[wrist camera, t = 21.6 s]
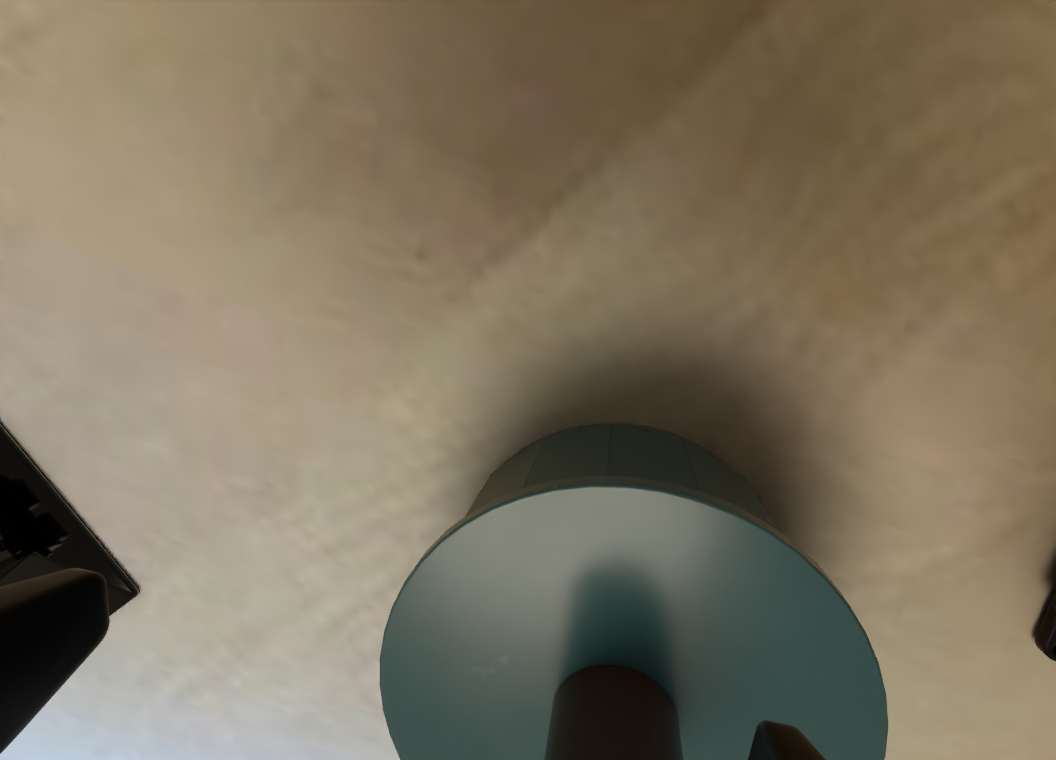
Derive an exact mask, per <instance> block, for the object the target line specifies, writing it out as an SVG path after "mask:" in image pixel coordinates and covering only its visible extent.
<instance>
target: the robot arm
mask: <svg viewBox="0 0 1056 760" xmlns="http://www.w3.org/2000/svg"><path fill="white" fill-rule="evenodd" d="M108 627H109V607H108V594H107V583H106V579H105V578H104V576H103V575H102V574H100V573H98V572H94V571H89V570H85V569H80V568H70V569H65V570H62V571H58V572H54V573H50V574H47V575H43V576H39V577H35V578H32V579H28V580H24V581H20V582H17V583H13V584H9V585H5V586H2V587H0V753H1V752H2V751H3V750H4V749H5V748H6V747H7V746H8V745H9V744H10V743H11V742H12V741H13V740H14V739H15V738H16V736H17V735H18V734H19V733H20V732H21V731H22V730H23V729H24V728H25V727H26V726H27V724H28V723H29V722H30V721H31V720H32V719H33V718H34V717H35V715H36V714H37V713H38V712H39V711H40V710H41V709H42V708H43V706H44V705H45V704H46V703H47V702H48V701H49V700H50V699H51V698H52V696H53V695H54V694H55V693H56V692H57V691H58V690H59V689H60V687H61V686H62V685H63V684H64V683H65V682H66V681H67V680H68V678H69V677H70V676H71V675H72V674H73V673H74V672H75V671H76V670H77V668H78V667H79V666H80V665H81V664H82V663H83V662H84V661H85V659H86V658H87V657H88V656H89V655H90V654H91V653H92V652H93V650H94V649H95V648H96V647H97V646H98V645H99V644H100V642H101V641H102V640H103V638H104V637H105V635H106V633H107V630H108ZM1035 643H1036V645H1037V647H1038V648H1039V649H1040V650H1041V651H1042V652H1043V653H1044V654H1045V655H1047V656H1048V657H1049V658H1050V659H1052V660H1054V661H1056V646H1054V645H1055V643H1056V591H1055V593H1054V595H1053V598H1052V600H1051V602H1050V605H1049V607H1048V609H1047V612H1046V614H1045V616H1044V619H1043V621H1042V623H1041V626H1040V628H1039V630H1038V633H1037V635H1036V639H1035ZM1053 646H1054V647H1053ZM748 760H826V759H825V758H824V757H823V755H822V754H821V753H820V752H819V751H818V750H817V749H816V748H815V747H814V745H813V744H812V743H811V742H810V741H809V740H808V739H807V738H806V737H805V735H804V734H803V733H802V732H801V731H800V730H799V729H797V728H796V727H794V726H791V725H787V724H782V723H778V722H773V721H769V720H763V721H761V722H760V723H759V724H758V726H757V728H756V731H755V735H754V739H753V743H752V746H751V750H750V754H749V757H748Z"/></svg>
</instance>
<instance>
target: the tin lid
mask: <svg viewBox="0 0 1056 760" xmlns="http://www.w3.org/2000/svg"><path fill="white" fill-rule="evenodd" d="M380 689H381V697H382V705H383V711H384V715H385V718H386V722H387V726H388V729H389V733H390V736H391V738H392V741H393V743H394V746H395V748H396V750H397V753H398V755H399V758H400V760H748V757H749V754H750V750H751V746H752V743H753V739H754V735H755V731H756V728H757V726H758V724H759V723H760V722H761V721H763V720H769V721H773V722H778V723H782V724H787V725H791V726H794V727H796V728H797V729H799V730H800V731H801V732H802V733H803V734H804V735H805V737H806V738H807V739H808V740H809V741H810V742H811V743H812V744H813V745H814V747H815V748H816V749H817V750H818V751H819V752H820V753H821V754H822V755H823V757H824V758H825V759H826V760H884V758H885V753H886V743H887V733H888V715H887V701H886V692H885V688H884V684H883V680H882V675H881V671H880V667H879V663H878V661H877V658H876V656H875V653H874V651H873V649H872V646H871V644H870V641H869V639H868V637H867V634H866V632H865V631H864V629H863V627H862V626H861V624H860V622H859V621H858V619H857V617H856V616H855V614H854V612H853V611H852V609H851V608H850V606H849V604H848V603H847V601H846V600H845V598H844V597H843V595H842V593H841V592H840V591H839V589H838V588H837V587H836V586H835V585H834V583H833V582H832V581H831V580H830V579H829V577H828V576H827V575H826V574H825V572H824V571H823V570H822V569H821V568H820V566H819V565H818V564H817V563H816V562H814V561H813V560H812V559H811V558H810V557H809V556H808V555H807V554H806V553H805V552H804V551H803V550H801V549H800V548H799V547H798V546H797V545H796V544H795V543H794V542H793V541H791V540H790V539H789V538H787V537H786V536H784V535H783V534H782V533H780V532H779V531H777V530H776V529H775V528H773V527H772V526H770V525H769V524H767V523H766V522H765V521H763V520H761V519H759V518H758V517H756V516H754V515H752V514H750V513H748V512H746V511H745V510H743V509H741V508H739V507H737V506H735V505H733V504H732V503H729V502H726V501H724V500H721V499H719V498H716V497H714V496H711V495H708V494H706V493H703V492H701V491H698V490H695V489H691V488H687V487H683V486H679V485H675V484H671V483H668V482H664V481H658V480H650V479H643V478H635V477H628V476H586V477H577V478H568V479H559V480H554V481H550V482H546V483H542V484H537V485H533V486H529V487H525V488H523V489H520V490H517V491H515V492H512V493H510V494H507V495H504V496H502V497H499V498H497V499H495V500H493V501H491V502H489V503H487V504H486V505H484V506H482V507H480V508H478V509H477V510H475V511H473V512H471V513H469V514H468V515H467V516H465V517H464V518H463V519H461V520H460V521H459V522H457V523H456V524H455V525H454V526H452V527H451V528H450V529H448V530H447V531H446V532H445V533H444V534H443V535H442V536H441V537H440V538H439V539H438V540H437V541H436V542H435V543H434V544H433V545H432V546H431V547H430V548H429V549H428V550H427V551H426V553H425V554H424V555H423V557H422V558H421V560H420V561H419V562H418V564H417V565H416V567H415V568H414V569H413V571H412V572H411V574H410V575H409V577H408V578H407V580H406V581H405V583H404V585H403V586H402V588H401V590H400V592H399V594H398V596H397V598H396V600H395V602H394V604H393V606H392V609H391V612H390V615H389V618H388V622H387V625H386V628H385V631H384V636H383V643H382V649H381V655H380Z"/></svg>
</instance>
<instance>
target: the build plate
mask: <svg viewBox="0 0 1056 760" xmlns="http://www.w3.org/2000/svg"><path fill="white" fill-rule="evenodd" d="M70 568H80V569H85V570H89V571H94V572H98V573H100V574H102V575H103V576H104V578H105V579H106V583H107V594H108V607H109V616H110V615H111V614H113V613H114V612H115V611H117V610H118V609H119V608H121V607H122V606H124V605H125V604H126V603H128V602H129V601H130V600H132V599H133V598H134V597H136V596H137V595H138V594H139V590H138V588H137V587H136V586H135V585H134V584H133V582H132V581H131V580H130V579H129V578H128V576H127V575H126V574H125V573H124V572H123V570H122V569H121V568H120V567H119V566H118V564H117V563H116V562H115V561H114V560H113V558H112V557H111V556H110V555H109V554H108V552H107V551H106V550H105V549H104V548H103V546H102V545H101V544H100V543H99V542H98V540H97V539H96V538H95V537H94V536H93V534H92V533H91V532H90V531H89V530H88V528H87V527H86V526H85V525H84V524H83V522H82V521H81V520H80V519H79V518H78V516H77V515H76V514H75V513H74V512H73V510H72V509H71V508H70V507H69V506H68V504H67V503H66V502H65V501H64V500H63V498H62V497H61V496H60V495H59V494H58V493H57V491H56V490H55V489H54V488H53V487H52V485H51V484H50V483H49V482H48V481H47V479H46V478H45V477H44V476H43V475H42V473H41V472H40V471H39V470H38V469H37V467H36V466H35V465H34V464H33V463H32V461H31V460H30V459H29V458H28V457H27V455H26V454H25V453H24V452H23V451H22V449H21V448H20V447H19V446H18V445H17V443H16V442H15V441H14V440H13V439H12V437H11V436H10V435H9V434H8V433H7V431H6V430H5V429H4V428H3V427H2V425H1V424H0V587H2V586H5V585H9V584H13V583H17V582H20V581H24V580H28V579H32V578H35V577H39V576H43V575H47V574H50V573H54V572H58V571H62V570H65V569H70Z"/></svg>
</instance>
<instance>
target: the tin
mask: <svg viewBox="0 0 1056 760" xmlns="http://www.w3.org/2000/svg"><path fill="white" fill-rule="evenodd" d="M586 476H628V477H635V478H643V479H650V480H658V481H664V482H668V483H671V484H675V485H679V486H683V487H687V488H691V489H695V490H698V491H701V492H703V493H706V494H708V495H711V496H714V497H716V498H719V499H721V500H724V501H726V502H729V503H732V504H733V505H735V506H737V507H739V508H741V509H743V510H745V511H746V512H748V513H750V514H752V515H754V516H756V517H758V518H759V519H761V520H763V521H765V522H766V523H767V524H769V525H770V526H772V527H773V528H775V529H776V530H777V531H779V532H780V533H782V531H781V529H780V528H779V526H778V525H777V523H776V522H775V521H774V519H773V518H772V516H771V515H770V514H769V512H768V511H767V509H766V508H765V506H764V505H763V503H762V502H761V500H760V498H759V497H758V495H757V494H756V493H755V492H754V491H753V489H752V488H751V487H750V485H749V484H748V483H747V481H746V480H745V478H744V477H743V476H741V474H740V473H738V472H736V471H735V470H734V469H733V468H732V467H731V466H729V465H728V464H727V463H726V462H724V461H723V460H721V459H720V458H719V457H717V456H716V455H714V454H713V453H712V452H710V451H709V450H707V449H705V448H703V447H701V446H699V445H697V444H696V443H694V442H692V441H690V440H688V439H685V438H682V437H680V436H677V435H675V434H672V433H669V432H666V431H662V430H658V429H654V428H650V427H646V426H638V425H630V424H595V425H588V426H580V427H576V428H572V429H568V430H564V431H560V432H557V433H555V434H552V435H550V436H547V437H545V438H542V439H540V440H538V441H536V442H534V443H533V444H531V445H529V446H527V447H526V448H524V449H522V450H521V451H519V452H518V453H517V454H515V455H514V456H513V457H511V458H510V459H509V460H508V461H506V462H505V463H504V464H503V465H502V466H501V467H500V468H498V469H497V470H495V471H494V473H492V474H491V476H490V478H489V479H488V481H487V482H486V484H485V486H484V487H483V489H482V490H481V492H480V493H479V495H478V497H477V498H476V500H475V502H474V503H473V505H472V506H471V508H470V510H469V511H468V513H467V514H466V516H467V515H468V514H469V513H471V512H473V511H475V510H477V509H478V508H480V507H482V506H484V505H486V504H487V503H489V502H491V501H493V500H495V499H497V498H499V497H502V496H504V495H507V494H510V493H512V492H515V491H517V490H520V489H523V488H525V487H529V486H533V485H537V484H542V483H546V482H550V481H554V480H559V479H568V478H577V477H586ZM782 534H783V533H782ZM783 535H784V534H783Z"/></svg>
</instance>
